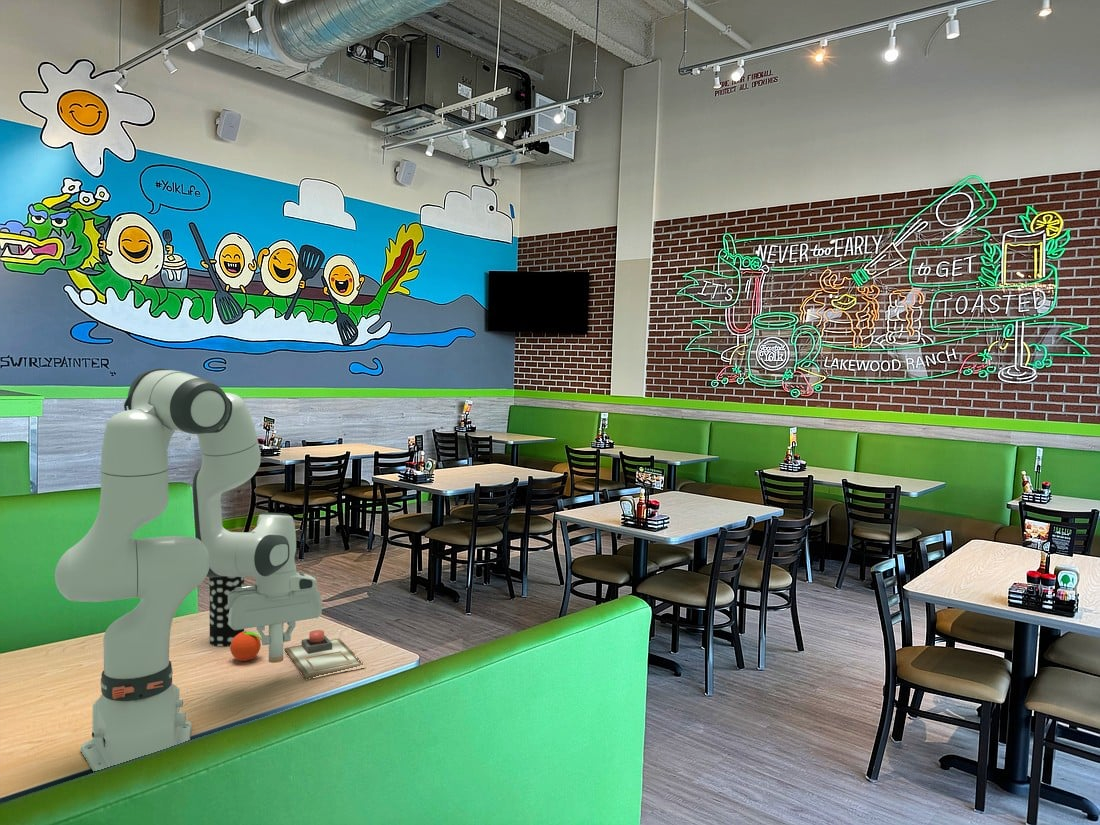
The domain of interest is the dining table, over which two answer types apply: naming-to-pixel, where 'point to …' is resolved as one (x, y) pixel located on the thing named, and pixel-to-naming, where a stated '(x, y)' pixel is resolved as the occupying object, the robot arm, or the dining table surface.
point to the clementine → (245, 645)
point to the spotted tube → (222, 609)
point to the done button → (316, 636)
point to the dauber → (276, 643)
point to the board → (322, 657)
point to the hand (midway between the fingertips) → (276, 642)
